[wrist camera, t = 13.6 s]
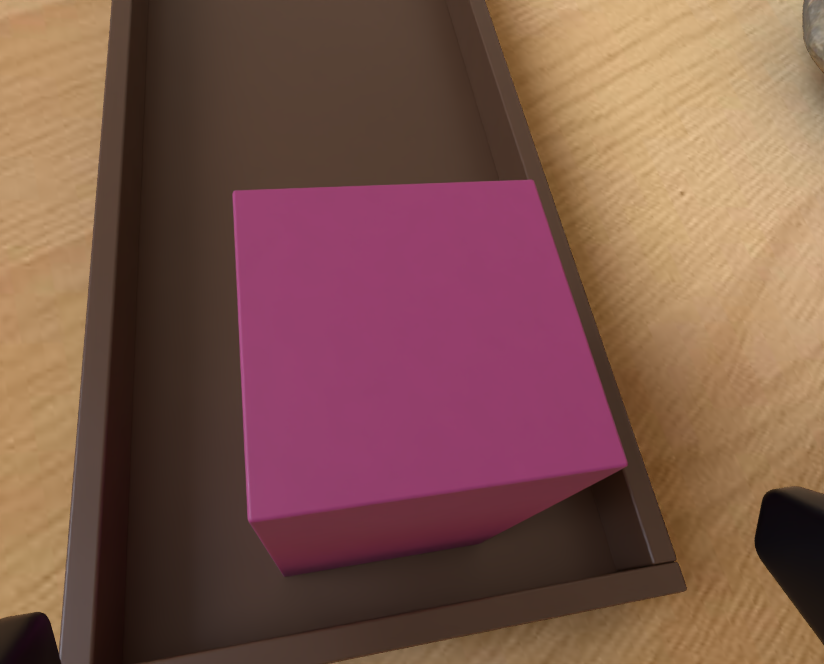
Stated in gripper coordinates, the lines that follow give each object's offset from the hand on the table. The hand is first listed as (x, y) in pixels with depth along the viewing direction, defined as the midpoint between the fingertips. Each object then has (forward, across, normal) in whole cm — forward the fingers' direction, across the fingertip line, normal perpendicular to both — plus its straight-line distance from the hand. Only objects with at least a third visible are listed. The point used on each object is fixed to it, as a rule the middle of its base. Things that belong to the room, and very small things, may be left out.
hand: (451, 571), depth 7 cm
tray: (+19, 0, -9) cm, 21 cm away
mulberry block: (+7, 0, +2) cm, 7 cm away
